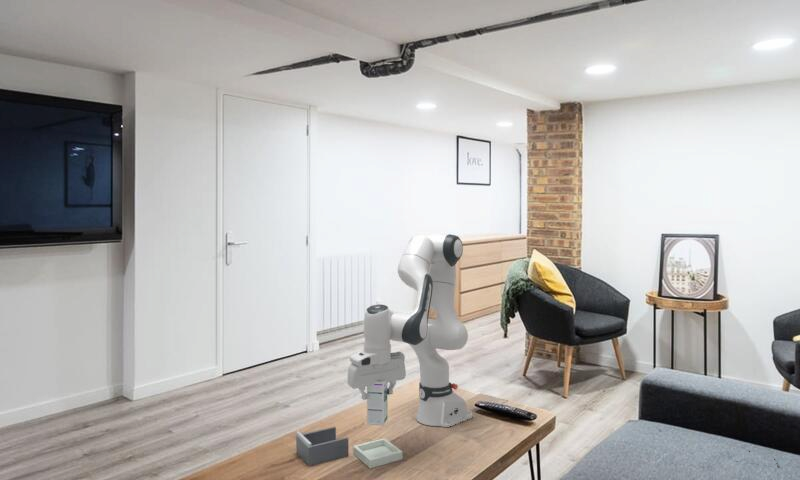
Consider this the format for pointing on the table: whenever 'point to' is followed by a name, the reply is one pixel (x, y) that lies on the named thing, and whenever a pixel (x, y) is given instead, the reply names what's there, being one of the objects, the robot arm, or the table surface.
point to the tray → (377, 453)
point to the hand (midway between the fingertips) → (377, 396)
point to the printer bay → (320, 446)
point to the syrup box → (377, 403)
